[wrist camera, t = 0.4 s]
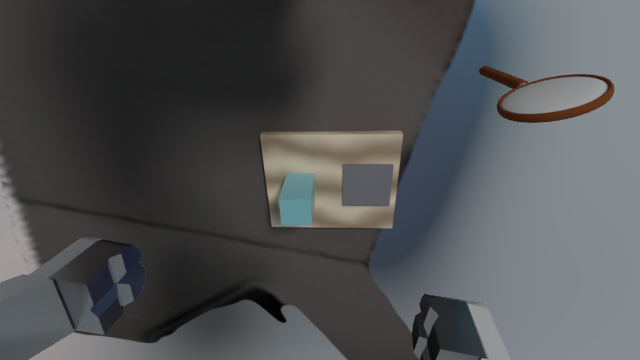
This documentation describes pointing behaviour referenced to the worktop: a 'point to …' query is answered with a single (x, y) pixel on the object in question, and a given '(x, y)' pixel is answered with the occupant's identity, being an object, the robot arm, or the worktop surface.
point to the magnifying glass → (550, 96)
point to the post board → (330, 172)
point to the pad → (367, 184)
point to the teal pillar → (297, 199)
